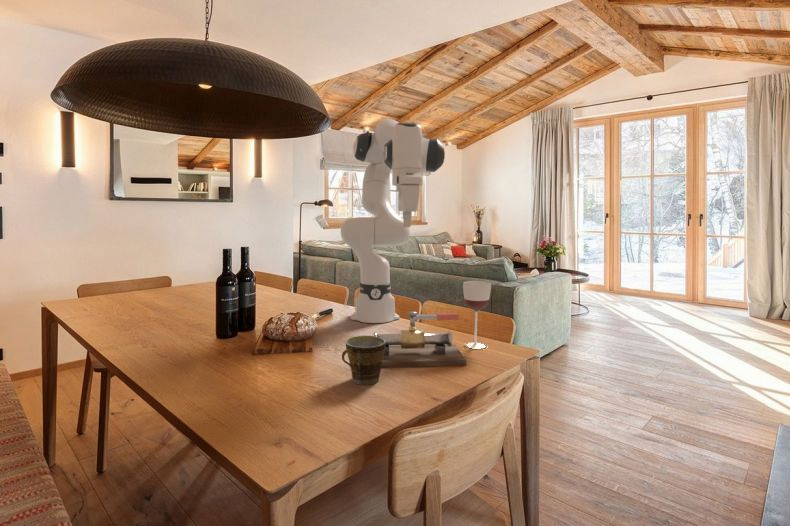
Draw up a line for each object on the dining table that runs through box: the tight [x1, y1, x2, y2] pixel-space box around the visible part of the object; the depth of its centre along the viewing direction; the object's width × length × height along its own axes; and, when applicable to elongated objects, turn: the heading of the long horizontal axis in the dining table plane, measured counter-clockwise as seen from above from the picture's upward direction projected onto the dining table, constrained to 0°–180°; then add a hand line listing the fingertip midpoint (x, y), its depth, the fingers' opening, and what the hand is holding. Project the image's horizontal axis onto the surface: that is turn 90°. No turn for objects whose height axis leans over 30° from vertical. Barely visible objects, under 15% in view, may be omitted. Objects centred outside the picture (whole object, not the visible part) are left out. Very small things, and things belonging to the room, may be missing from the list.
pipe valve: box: [373, 326, 453, 356], centre depth 130 cm, size 5×22×8 cm, turn 95°
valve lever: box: [407, 310, 460, 327], centre depth 130 cm, size 14×3×4 cm, turn 96°
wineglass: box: [462, 280, 492, 350], centre depth 141 cm, size 8×9×20 cm
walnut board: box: [381, 344, 467, 368], centre depth 131 cm, size 14×28×2 cm, turn 95°
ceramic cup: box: [341, 335, 386, 386], centre depth 112 cm, size 13×10×10 cm
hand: (407, 227), depth 134 cm, fingers closed
